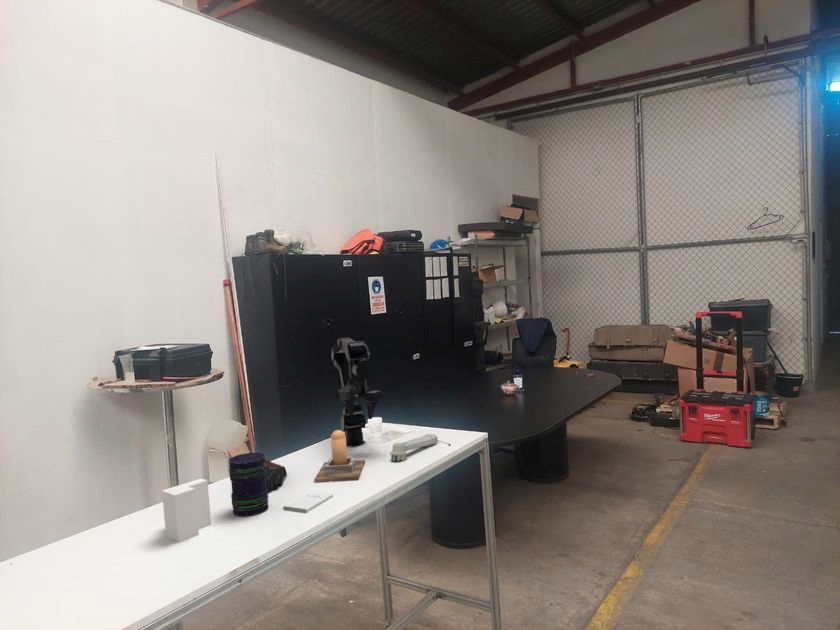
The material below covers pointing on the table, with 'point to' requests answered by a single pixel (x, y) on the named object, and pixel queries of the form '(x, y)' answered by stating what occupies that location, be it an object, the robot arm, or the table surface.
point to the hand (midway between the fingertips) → (360, 418)
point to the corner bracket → (186, 509)
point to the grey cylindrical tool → (411, 446)
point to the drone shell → (274, 475)
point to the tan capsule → (339, 448)
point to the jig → (340, 471)
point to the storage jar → (248, 484)
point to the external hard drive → (308, 502)
